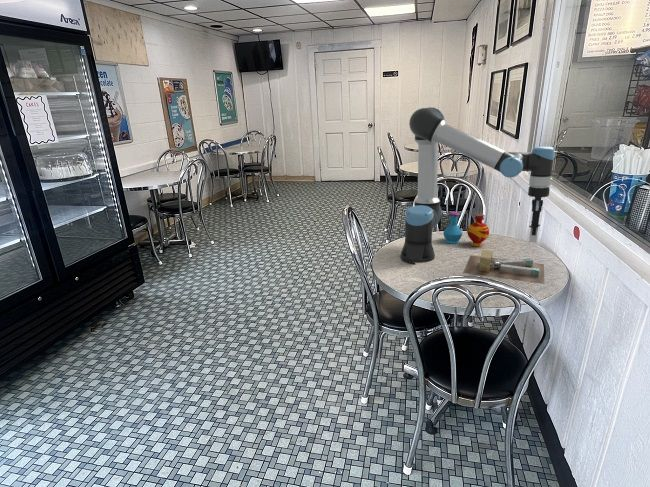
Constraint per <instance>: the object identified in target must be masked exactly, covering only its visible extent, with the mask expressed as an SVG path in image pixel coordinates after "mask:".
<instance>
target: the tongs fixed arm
mask: <svg viewBox="0 0 650 487" xmlns="http://www.w3.org/2000/svg"><path fill="white" fill-rule="evenodd" d="M479 263H480V262H479V261H478V263H477V267H479ZM498 268H499V265H494V264H492V263H490V269H494V270H498ZM500 272H505V273H513V274H520V275H528V276H535V277H539V269H538V268H528V267H520V266H512V265H504V264H501V268H500Z"/></svg>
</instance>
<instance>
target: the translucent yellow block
mask: <svg viewBox="0 0 650 487" xmlns="http://www.w3.org/2000/svg"><path fill="white" fill-rule="evenodd" d="M493 254H494V251H493V250H489V249H488V250H487V249H482V251H481V253H480V263H479V271H485V272H490V263H492V258H493Z"/></svg>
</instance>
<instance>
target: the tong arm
mask: <svg viewBox="0 0 650 487" xmlns="http://www.w3.org/2000/svg"><path fill="white" fill-rule="evenodd" d="M533 263H534V260H533V259H532V258H523V259H520V258H519V259H506V260H503V261H501V260H495V261H492V264H494V265H499V268H501V264H504V265H512V266H520V267H527V266H533Z"/></svg>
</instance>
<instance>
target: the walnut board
mask: <svg viewBox="0 0 650 487" xmlns="http://www.w3.org/2000/svg"><path fill="white" fill-rule="evenodd" d="M480 256H481V255H480ZM480 256H479V255H469V258H468V261H467V262H466V265H465V267H464V270H463V274H471V275H477V276H486V277H491V278H492V277H493V278H498V279H500V278H501V279H507V280H514V281H519V282H520V281H521V282H529V283H535V284H542V285H545V283H546V282H545V264H544V263H538V262H533V266H527V267H528V268H538V269H539V277H535V276H528V275H520V274H513V273H505V272H500V268H498V270H494V269H490V272H485V271H479V267H477V263H478V261H479V262H480ZM495 260H501V261H503V260H507V259H504V258H497V257H496V258H495V257H492V261H495Z"/></svg>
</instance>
